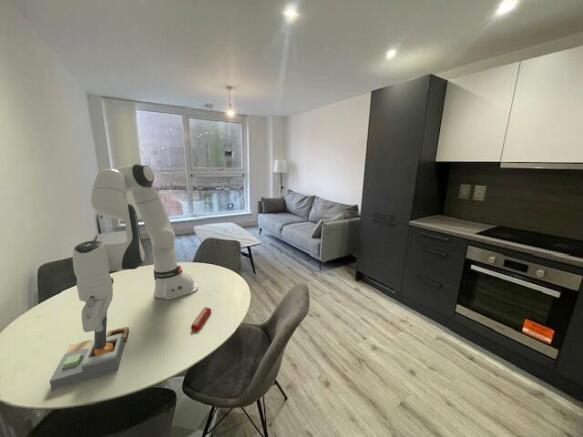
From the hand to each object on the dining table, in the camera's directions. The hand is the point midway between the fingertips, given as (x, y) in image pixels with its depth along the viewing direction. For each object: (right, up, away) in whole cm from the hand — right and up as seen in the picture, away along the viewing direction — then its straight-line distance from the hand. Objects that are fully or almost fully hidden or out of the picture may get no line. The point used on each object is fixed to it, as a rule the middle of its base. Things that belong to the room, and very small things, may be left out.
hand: (101, 326), depth 81 cm
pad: (-14, -13, +8) cm, 21 cm away
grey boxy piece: (-5, -14, +1) cm, 15 cm away
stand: (-5, -12, +14) cm, 19 cm away
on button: (-8, -13, -2) cm, 15 cm away
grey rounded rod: (-1, -7, +1) cm, 8 cm away
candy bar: (+25, -10, +26) cm, 37 cm away
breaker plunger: (-1, -11, +2) cm, 12 cm away
